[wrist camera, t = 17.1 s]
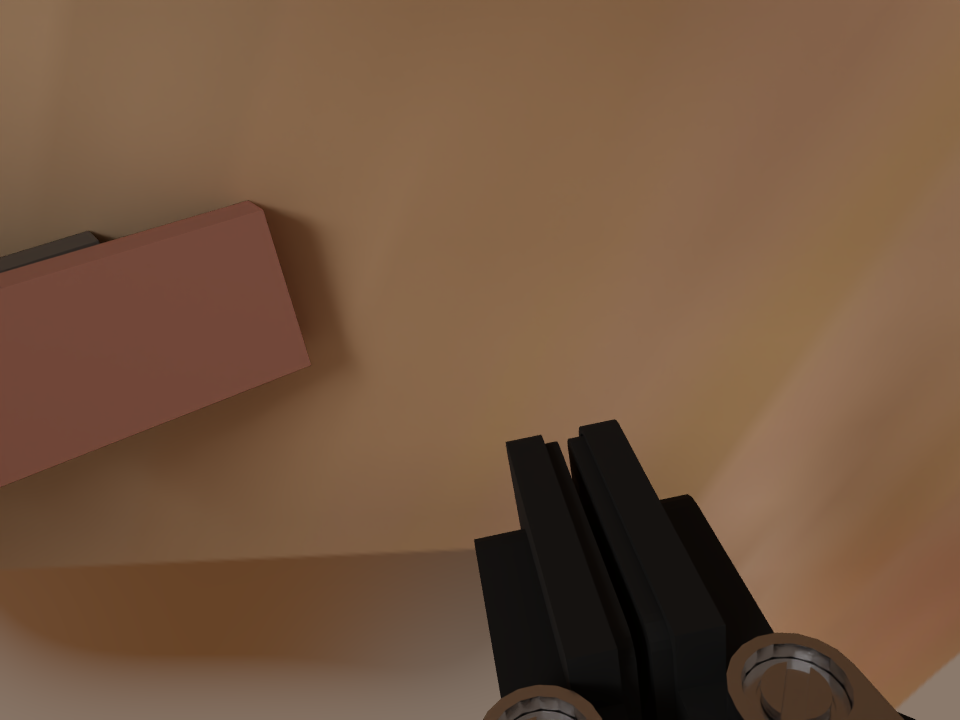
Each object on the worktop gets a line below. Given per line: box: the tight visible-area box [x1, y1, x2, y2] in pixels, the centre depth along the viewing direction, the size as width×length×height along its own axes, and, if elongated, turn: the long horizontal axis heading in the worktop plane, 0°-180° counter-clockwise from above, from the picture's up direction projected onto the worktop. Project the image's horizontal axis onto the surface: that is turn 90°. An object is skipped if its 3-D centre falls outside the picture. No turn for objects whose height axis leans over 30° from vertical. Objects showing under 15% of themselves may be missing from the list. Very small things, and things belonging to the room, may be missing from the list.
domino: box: [0, 200, 311, 487], centre depth 21 cm, size 2×5×10 cm
